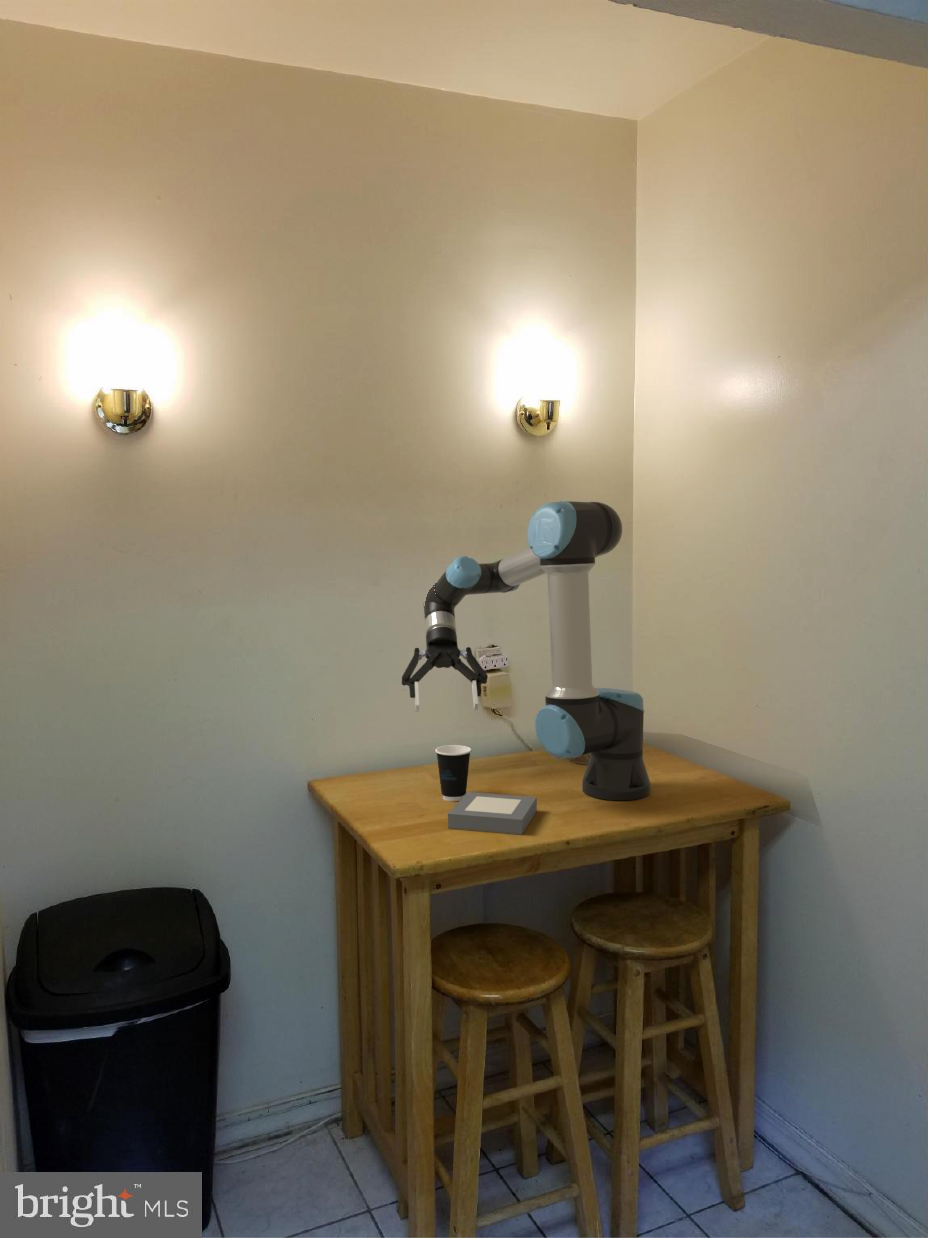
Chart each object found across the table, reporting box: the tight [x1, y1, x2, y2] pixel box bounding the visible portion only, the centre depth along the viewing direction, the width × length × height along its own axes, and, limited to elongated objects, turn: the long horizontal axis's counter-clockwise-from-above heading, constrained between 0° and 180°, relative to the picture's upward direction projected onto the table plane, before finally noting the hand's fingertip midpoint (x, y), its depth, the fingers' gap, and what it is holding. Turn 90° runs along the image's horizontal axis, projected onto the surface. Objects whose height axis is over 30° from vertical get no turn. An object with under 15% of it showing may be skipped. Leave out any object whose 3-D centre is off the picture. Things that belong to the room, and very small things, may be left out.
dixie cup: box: [435, 744, 472, 802], centre depth 203 cm, size 8×8×11 cm
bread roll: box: [568, 753, 590, 766], centre depth 234 cm, size 10×10×8 cm
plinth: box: [447, 791, 538, 836], centre depth 189 cm, size 15×15×3 cm
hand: (446, 707), depth 213 cm, fingers open, 13 cm apart
